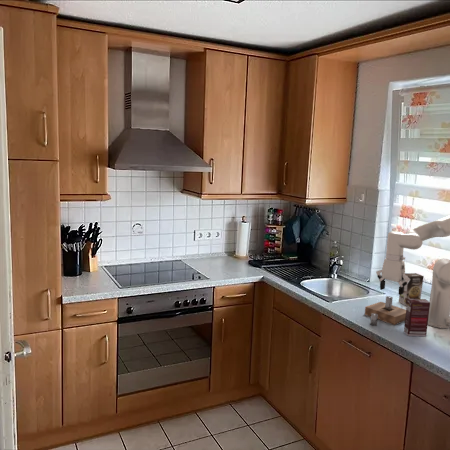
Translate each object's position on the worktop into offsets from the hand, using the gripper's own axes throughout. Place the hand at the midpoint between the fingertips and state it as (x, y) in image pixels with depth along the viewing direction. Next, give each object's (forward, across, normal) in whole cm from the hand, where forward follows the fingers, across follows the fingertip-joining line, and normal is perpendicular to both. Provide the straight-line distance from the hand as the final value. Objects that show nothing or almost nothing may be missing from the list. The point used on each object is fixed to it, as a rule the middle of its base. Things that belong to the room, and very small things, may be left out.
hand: (391, 291), depth 227 cm
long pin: (+13, +1, +1) cm, 13 cm away
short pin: (+13, -1, +16) cm, 20 cm away
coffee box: (+14, +5, -28) cm, 32 cm away
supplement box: (+14, -18, +10) cm, 25 cm away
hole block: (+13, +1, +1) cm, 13 cm away
